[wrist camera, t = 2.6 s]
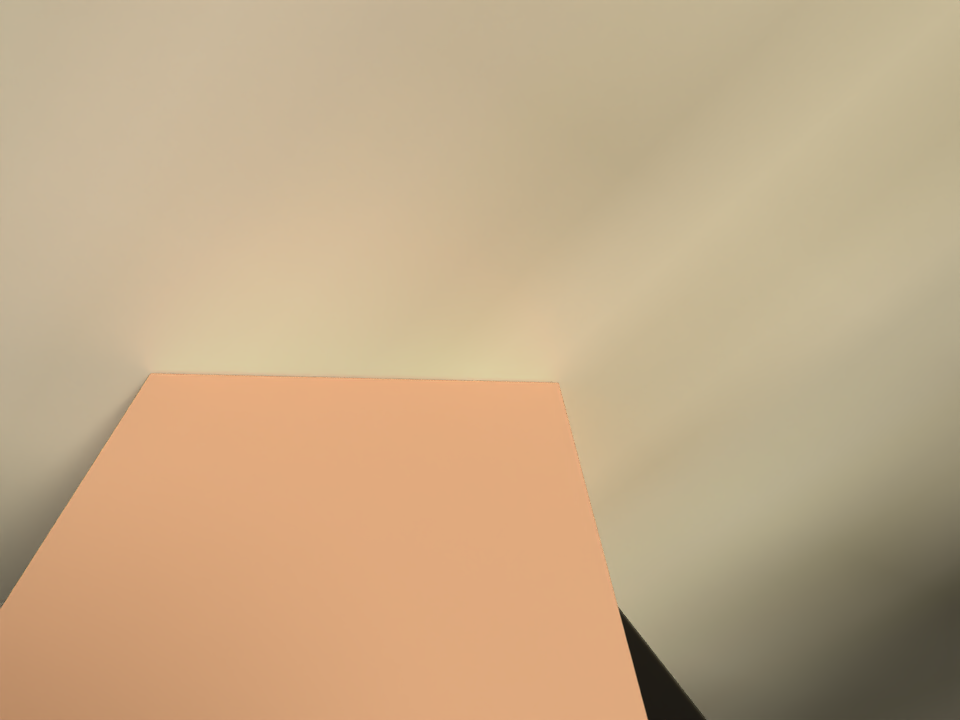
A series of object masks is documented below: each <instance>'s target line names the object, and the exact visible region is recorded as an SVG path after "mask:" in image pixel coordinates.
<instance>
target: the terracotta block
mask: <svg viewBox="0 0 960 720" xmlns="http://www.w3.org/2000/svg"><path fill="white" fill-rule="evenodd" d="M0 720H648V719H647V715H646V711H645V707H644V704H643V700H642V696H641V692H640V688H639V685H638V681H637V677H636V673H635V670H634V666H633V662H632V658H631V654H630V651H629V647H628V643H627V639H626V636H625V632H624V628H623V624H622V620H621V617H620V613H619V609H618V605H617V602H616V598H615V594H614V590H613V586H612V583H611V579H610V575H609V571H608V568H607V564H606V560H605V556H604V553H603V549H602V545H601V541H600V537H599V534H598V530H597V526H596V522H595V519H594V515H593V511H592V507H591V503H590V500H589V496H588V492H587V488H586V485H585V481H584V477H583V473H582V469H581V466H580V462H579V458H578V454H577V451H576V447H575V443H574V439H573V435H572V432H571V428H570V424H569V420H568V417H567V413H566V409H565V405H564V401H563V398H562V394H561V390H560V386H559V383H544V382H501V381H457V380H413V379H370V378H326V377H282V376H239V375H195V374H150V375H149V377H148V378H147V380H146V381H145V383H144V384H143V386H142V388H141V389H140V391H139V392H138V394H137V395H136V397H135V399H134V400H133V402H132V403H131V405H130V406H129V408H128V410H127V411H126V413H125V414H124V416H123V417H122V419H121V421H120V422H119V424H118V425H117V427H116V428H115V430H114V432H113V433H112V435H111V436H110V438H109V439H108V441H107V443H106V444H105V446H104V447H103V449H102V450H101V452H100V453H99V455H98V457H97V458H96V460H95V461H94V463H93V464H92V466H91V468H90V469H89V471H88V472H87V474H86V475H85V477H84V479H83V480H82V482H81V483H80V485H79V486H78V488H77V490H76V491H75V493H74V494H73V496H72V497H71V499H70V501H69V502H68V504H67V505H66V507H65V508H64V510H63V512H62V513H61V515H60V516H59V518H58V519H57V521H56V523H55V524H54V526H53V527H52V529H51V530H50V532H49V533H48V535H47V537H46V538H45V540H44V541H43V543H42V544H41V546H40V548H39V549H38V551H37V552H36V554H35V555H34V557H33V559H32V560H31V562H30V563H29V565H28V566H27V568H26V570H25V571H24V573H23V574H22V576H21V577H20V579H19V581H18V582H17V584H16V585H15V587H14V588H13V590H12V592H11V593H10V595H9V596H8V598H7V599H6V601H5V603H4V604H3V606H2V607H1V609H0Z"/></svg>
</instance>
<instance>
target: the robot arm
mask: <svg viewBox="0 0 960 720" xmlns="http://www.w3.org/2000/svg"><path fill="white" fill-rule="evenodd" d="M618 609H619V607H618ZM619 613H620V617H621V620H622V624H623V628H624V632H625V636H626V639H627V643H628V647H629V651H630V654H631V658H632V662H633V666H634V670H635V673H636V677H637V681H638V685H639V688H640V692H641V696H642V700H643V704H644V707H645V711H646V715H647V719H648V720H706V719H705V717H704V716H703V715H702V713H701V712H700V711H699V710H698V708H697V707H696V706H695V705H694V703H693V702H692V701H691V699H690V698H689V697H688V696H687V694H686V693H685V692H684V690H683V689H682V688H681V687H680V685H679V684H678V683H677V681H676V680H675V679H674V678H673V676H672V675H671V674H670V673H669V671H668V670H667V669H666V667H665V666H664V665H663V664H662V662H661V661H660V660H659V658H658V657H657V656H656V655H655V653H654V652H653V651H652V649H651V648H650V647H649V646H648V644H647V643H646V642H645V641H644V639H643V638H642V637H641V635H640V634H639V633H638V632H637V630H636V629H635V628H634V626H633V625H632V624H631V623H630V621H629V620H628V619H627V617H626V616H625V615H624V614H623V612H622V611H621V610H620V609H619Z"/></svg>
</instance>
